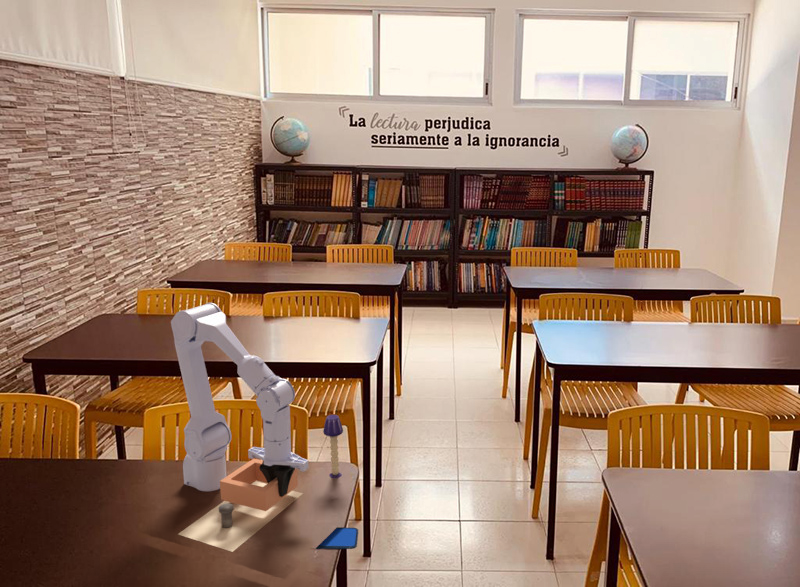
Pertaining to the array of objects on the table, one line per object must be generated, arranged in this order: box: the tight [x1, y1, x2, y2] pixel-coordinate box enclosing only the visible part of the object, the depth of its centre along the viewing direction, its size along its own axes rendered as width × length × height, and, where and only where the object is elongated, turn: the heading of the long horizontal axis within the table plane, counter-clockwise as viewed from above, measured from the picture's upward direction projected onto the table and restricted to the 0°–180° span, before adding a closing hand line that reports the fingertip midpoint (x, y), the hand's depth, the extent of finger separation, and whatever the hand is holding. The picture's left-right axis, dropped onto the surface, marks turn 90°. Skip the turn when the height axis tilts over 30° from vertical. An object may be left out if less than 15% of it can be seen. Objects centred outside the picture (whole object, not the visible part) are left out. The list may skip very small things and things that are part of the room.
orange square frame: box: [219, 458, 299, 511], centre depth 152 cm, size 12×12×4 cm
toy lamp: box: [322, 414, 344, 479], centre depth 163 cm, size 5×5×17 cm
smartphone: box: [315, 526, 359, 550], centre depth 141 cm, size 7×1×15 cm
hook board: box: [177, 480, 304, 553], centre depth 147 cm, size 14×25×6 cm, turn 155°
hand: (279, 493), depth 150 cm, fingers closed on orange square frame, 2 cm apart
